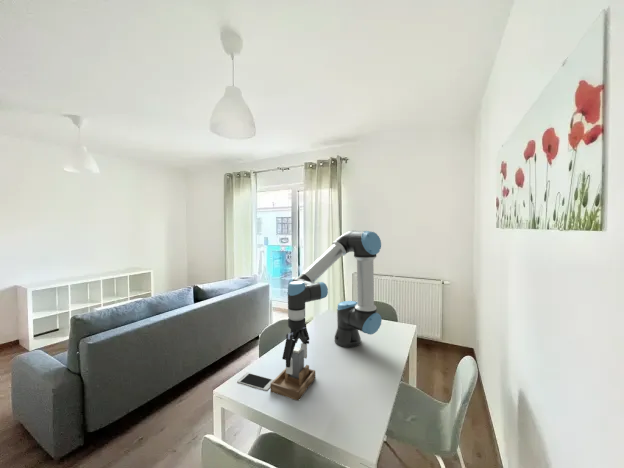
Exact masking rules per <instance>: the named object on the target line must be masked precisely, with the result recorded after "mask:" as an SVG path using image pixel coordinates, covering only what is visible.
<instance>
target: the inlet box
mask: <svg viewBox="0 0 624 468" xmlns="http://www.w3.org/2000/svg"><path fill="white" fill-rule="evenodd" d="M315 379H316V370H315V369H311V368H310V365H309V364H306V365H304V368H303V369H302V371H301V372H300V373H299V379H297V378H293V377H290V374H287V373H286V367H285V368H284V369H283V370H282V371H281V372H280V373H279V374H278V375H277V377H275V378H274V379H273V382H272V383H271V387H270V393H273V394H276V395H278V396H279V395H280V396H282V397H286V398H287V399H292V400H295V401H300V400H301V398H302V397H303V395H304V394H305V393H306V392H307V390H308V389H309V387H310V386H311V385H312V384H313V382H314V381H315Z"/></svg>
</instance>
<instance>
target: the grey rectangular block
mask: <svg viewBox="0 0 624 468" xmlns="http://www.w3.org/2000/svg"><path fill="white" fill-rule="evenodd" d="M291 358H292V366H293V374H292V375H291V374H290V377H293V378H297V379H299V373H300V372H301V371H302V369H303V368H304V367H305V358H304V350H302V348H301V347H297V346H295V347H294V351H293V354H292V357H291Z"/></svg>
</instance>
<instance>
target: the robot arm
mask: <svg viewBox="0 0 624 468" xmlns="http://www.w3.org/2000/svg"><path fill="white" fill-rule="evenodd" d="M381 248H382V240H381V238H380V235H378V234H377V232H374V231H369V230H349V231H347V232H345V233H343V234H341V235H340V236H339V237H337V238H336V239H335V240H334V241H333V242H332V243H331V246H330V247H329V248H327V250H326V251H325V252H324V253H323V254H321V255H320V257H318V258H317V259H316V260H314V262H312V264H310V265H309V266H308V267H307V268H306V269H305V270H304V271H303V272H302V273H301V274H300V275H299V276H294V277H291V278H290V279H289V280H288V283H287V284H288V285H287V292H286V293H287V317H288V319H287V327H288V328H289V329H290V331H289V333H286V337H285V344H284V348H283V349H284V350H283V352H282V357H281V358H282V360H284V361H285V368H286V373H287V374H291V375H292V374H293V366H292V358H291V357H292V354H293V351H294V348H295V347H296V344H297V343H298V340H300V341H301V344H300V348H302V350H304V359H307V358H308V345H309V344H310V335H309V333H308V329H307V323H306V303H309V302H313V301H317V300H319V301H321V299H325V298H326V297H328V295H329V289H328V286H327V284H326V283H325V282H324V281H317V280H318V279H319V278H320V277H322V276H323V275H324V273H325V272H326V271H327V270H329V268H331V266H333V265H334V264H335V263H336V262H337V261H338V260H339V259H340V258H341V257H343V256H346V255H347V253H352V252H353V257H354V259H356V282H357V284H356V289H357V290H356V291H357V292H356V294H357V299H356V301H355V300H345V301H341V302H338V304H337V309H336V313H337V314H336V316H337V317H336V318H337V319H336V320H337V328H336V331H335V334H334V343H335V344H336V345H337V346H340V347H343V348H355V347H357V346H359V345H361V343H362V341H361V339H362V338H361V335H360V332H361V333H364V334H367V335H373V334H376V333H377V332H378V331H379V329H380V327H381V325H382V320H383V319H382V316H381V314H379V312H378V309H377V308H378V307H377V306H376V305H375V301H374V300H375V299H374V297H375V296H374V295H375V293H374V290H375V289H374V286H375V285H374V282H375V281H374V279H375V278H374V277H375V276H374V274H375V273H374V260H375V259H376V258H377V254H379V253H380V251H381ZM316 281H317V282H316ZM359 331H360V332H359Z"/></svg>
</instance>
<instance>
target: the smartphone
mask: <svg viewBox="0 0 624 468" xmlns="http://www.w3.org/2000/svg"><path fill="white" fill-rule="evenodd" d="M273 380H274V379H272V378H270V377H269V378H268V377H264V376H261V375H257V374H253V373H251V372H250V373H249V372H246V373H244V375H242V376H241V377H240V378H239V379H237V381H236V382H237V383H238V384H241V385H244V386H249V387H252V388H255V389H259V390H262V391H265V392H266V391H267V392H268V390H270V389H271V383H272V382H273Z"/></svg>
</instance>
